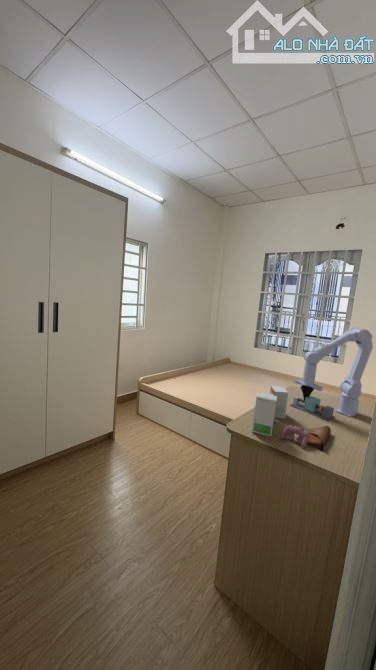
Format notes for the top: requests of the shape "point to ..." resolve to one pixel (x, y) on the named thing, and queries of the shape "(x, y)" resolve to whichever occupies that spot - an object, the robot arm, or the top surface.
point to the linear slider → (326, 410)
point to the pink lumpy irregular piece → (302, 434)
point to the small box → (280, 400)
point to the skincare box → (264, 414)
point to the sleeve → (311, 403)
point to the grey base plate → (317, 413)
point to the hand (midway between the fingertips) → (305, 399)
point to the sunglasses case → (318, 437)
